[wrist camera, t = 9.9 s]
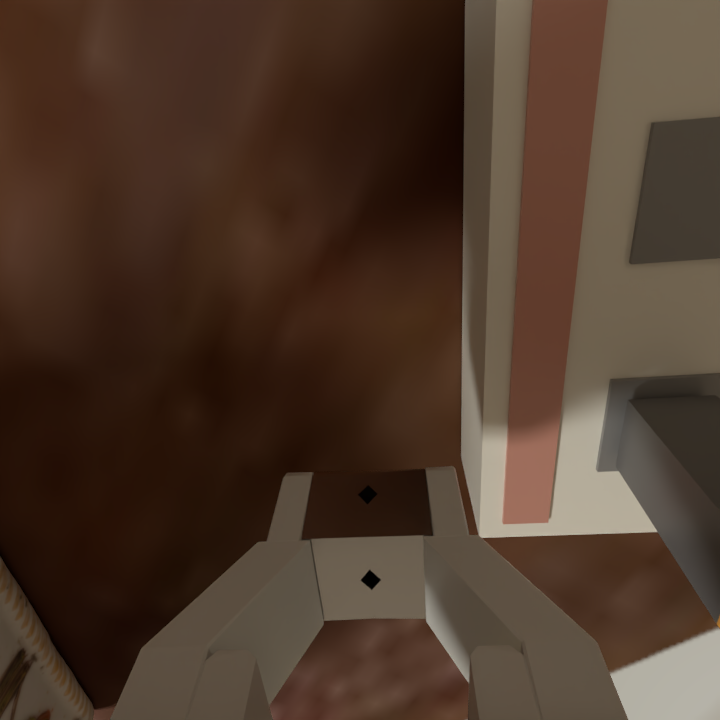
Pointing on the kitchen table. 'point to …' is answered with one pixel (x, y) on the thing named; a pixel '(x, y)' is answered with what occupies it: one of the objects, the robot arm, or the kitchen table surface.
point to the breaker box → (583, 247)
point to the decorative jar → (33, 664)
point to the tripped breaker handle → (679, 481)
